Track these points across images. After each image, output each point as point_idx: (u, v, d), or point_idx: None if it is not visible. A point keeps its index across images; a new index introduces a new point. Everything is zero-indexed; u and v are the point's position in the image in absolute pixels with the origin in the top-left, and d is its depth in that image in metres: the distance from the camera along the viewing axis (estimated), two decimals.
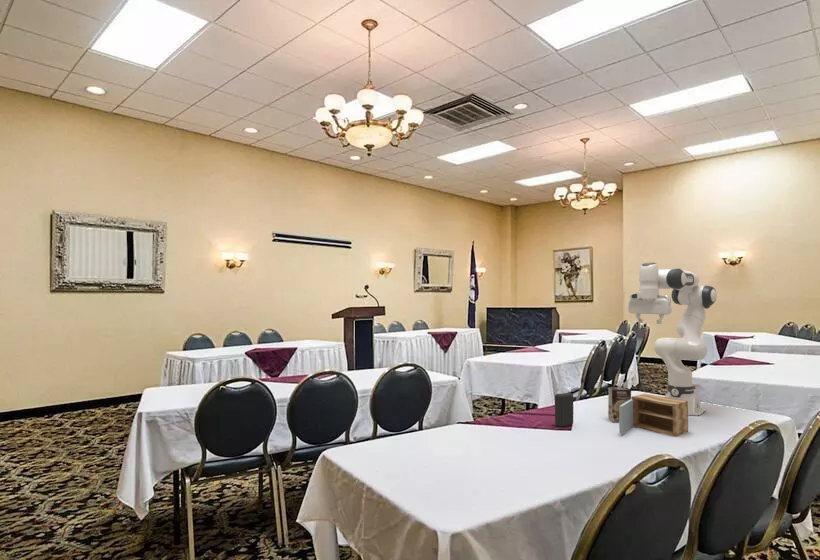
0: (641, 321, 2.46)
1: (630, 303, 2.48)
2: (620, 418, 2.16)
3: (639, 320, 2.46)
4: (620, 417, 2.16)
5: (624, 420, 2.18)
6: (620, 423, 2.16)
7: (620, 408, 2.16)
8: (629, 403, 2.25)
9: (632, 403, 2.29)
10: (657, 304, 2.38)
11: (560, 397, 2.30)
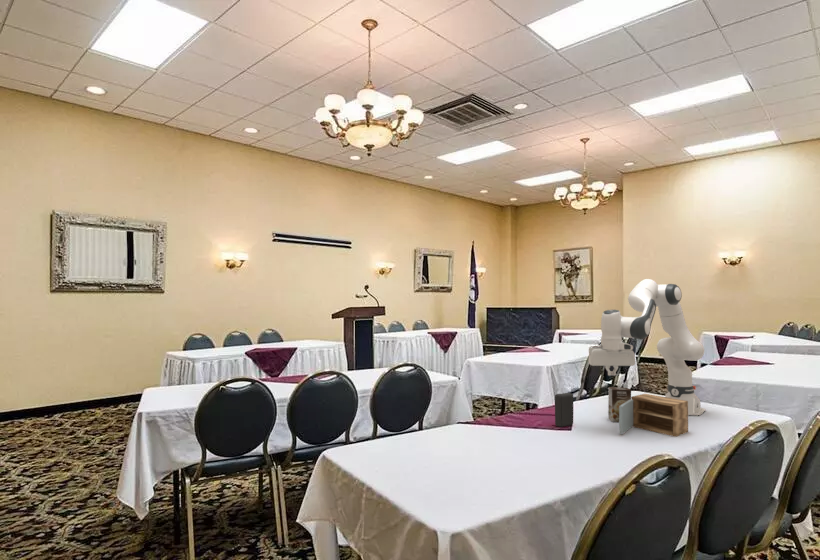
0: None
1: None
2: (620, 418, 2.16)
3: None
4: (620, 417, 2.16)
5: (624, 420, 2.18)
6: (620, 423, 2.16)
7: (620, 408, 2.16)
8: (629, 403, 2.25)
9: (632, 403, 2.29)
10: None
11: (560, 397, 2.30)
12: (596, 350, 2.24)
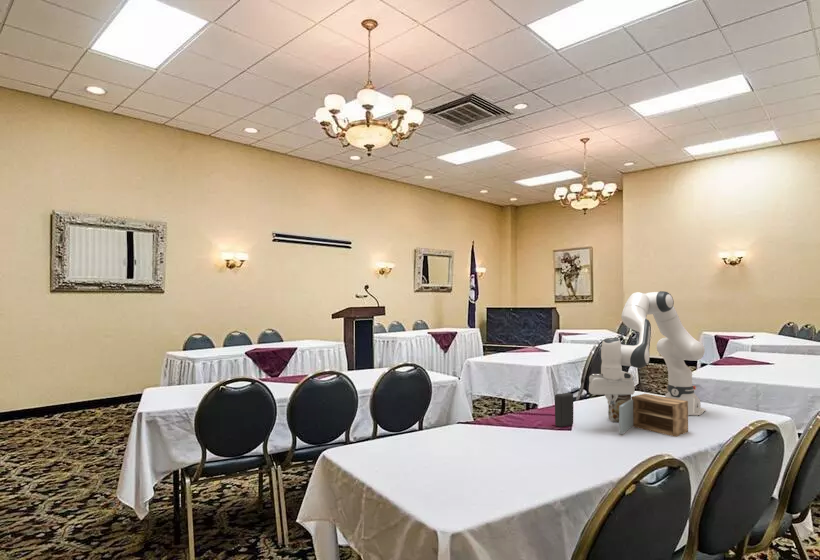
0: None
1: None
2: (620, 418, 2.16)
3: None
4: (620, 417, 2.16)
5: (624, 420, 2.18)
6: (620, 423, 2.16)
7: (620, 408, 2.16)
8: (629, 403, 2.25)
9: (632, 403, 2.29)
10: None
11: (560, 397, 2.30)
12: (596, 379, 2.23)
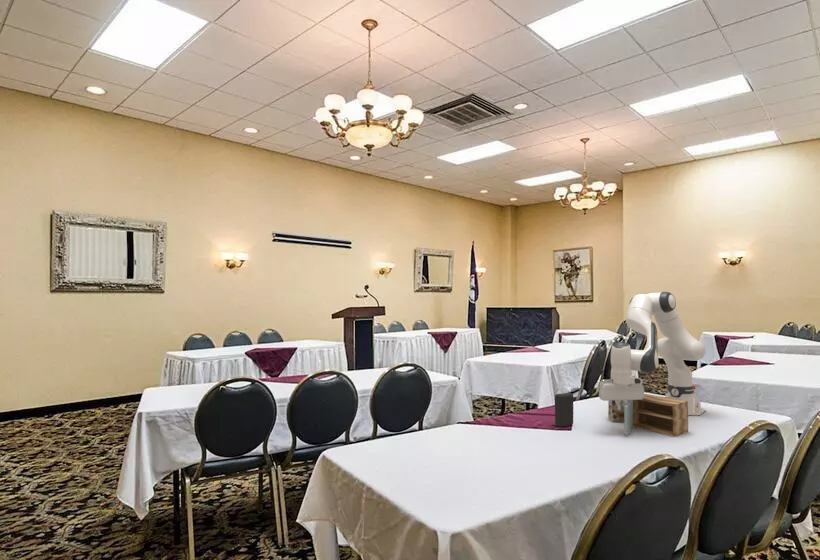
0: None
1: None
2: (625, 419, 2.15)
3: None
4: (625, 418, 2.15)
5: (628, 421, 2.17)
6: (625, 424, 2.15)
7: (625, 409, 2.15)
8: (631, 403, 2.24)
9: (632, 403, 2.29)
10: None
11: (560, 397, 2.30)
12: (607, 385, 2.20)
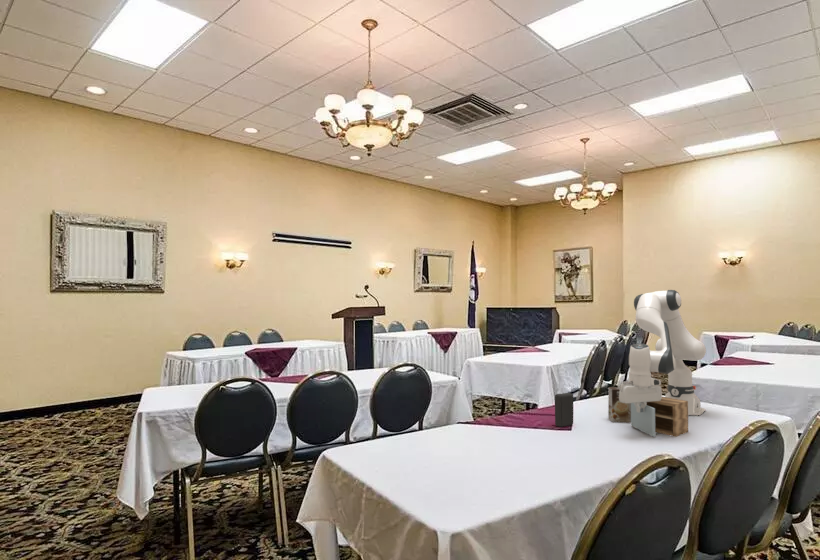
0: None
1: None
2: (653, 420, 2.12)
3: None
4: (653, 419, 2.12)
5: None
6: (653, 426, 2.12)
7: (653, 410, 2.12)
8: (640, 403, 2.24)
9: None
10: None
11: (560, 397, 2.30)
12: (628, 387, 2.14)
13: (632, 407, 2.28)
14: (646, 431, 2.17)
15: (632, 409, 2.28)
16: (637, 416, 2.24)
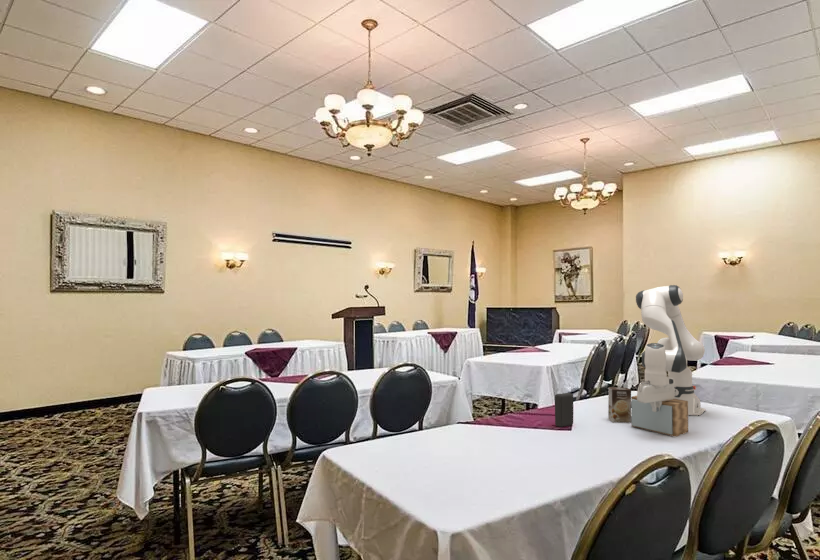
0: None
1: None
2: (671, 418, 2.15)
3: None
4: (671, 417, 2.15)
5: None
6: (671, 423, 2.15)
7: (671, 408, 2.15)
8: (645, 403, 2.25)
9: None
10: None
11: (560, 397, 2.30)
12: (647, 387, 2.14)
13: (634, 407, 2.28)
14: (660, 430, 2.19)
15: (634, 409, 2.28)
16: (643, 416, 2.25)
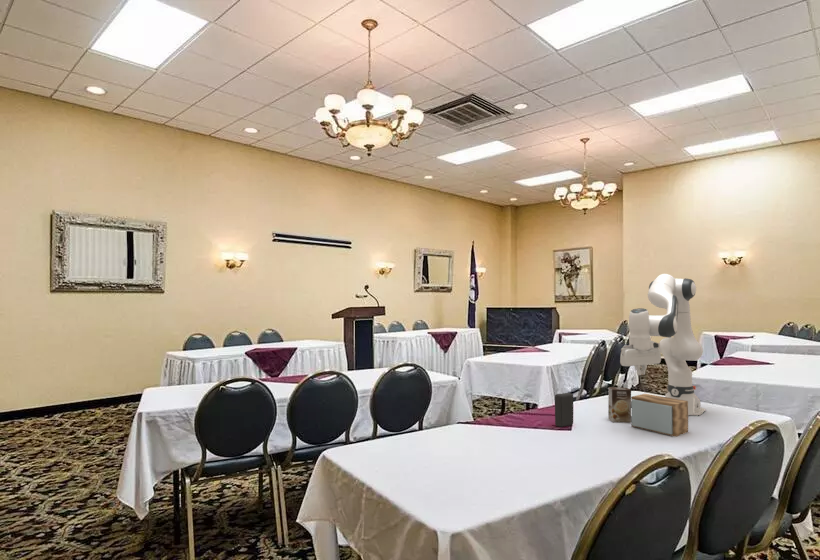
0: None
1: None
2: (671, 418, 2.15)
3: None
4: (671, 417, 2.15)
5: None
6: (671, 423, 2.15)
7: (671, 408, 2.15)
8: None
9: None
10: None
11: (560, 397, 2.30)
12: (629, 350, 2.20)
13: (634, 407, 2.28)
14: (660, 430, 2.19)
15: (634, 409, 2.28)
16: (643, 416, 2.25)
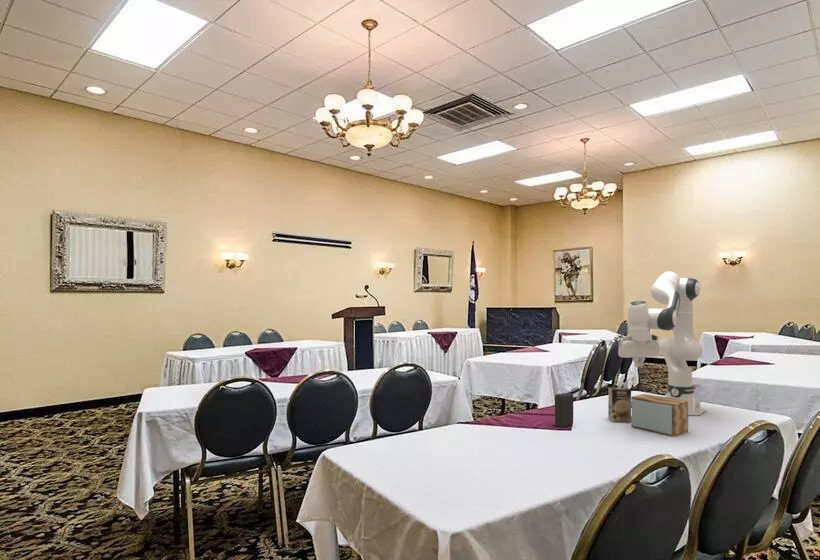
0: None
1: None
2: (671, 418, 2.15)
3: None
4: (671, 417, 2.15)
5: None
6: (671, 423, 2.15)
7: (671, 408, 2.15)
8: None
9: None
10: None
11: (560, 397, 2.30)
12: (627, 342, 2.21)
13: (634, 407, 2.28)
14: (660, 430, 2.19)
15: (634, 409, 2.28)
16: (643, 416, 2.25)
